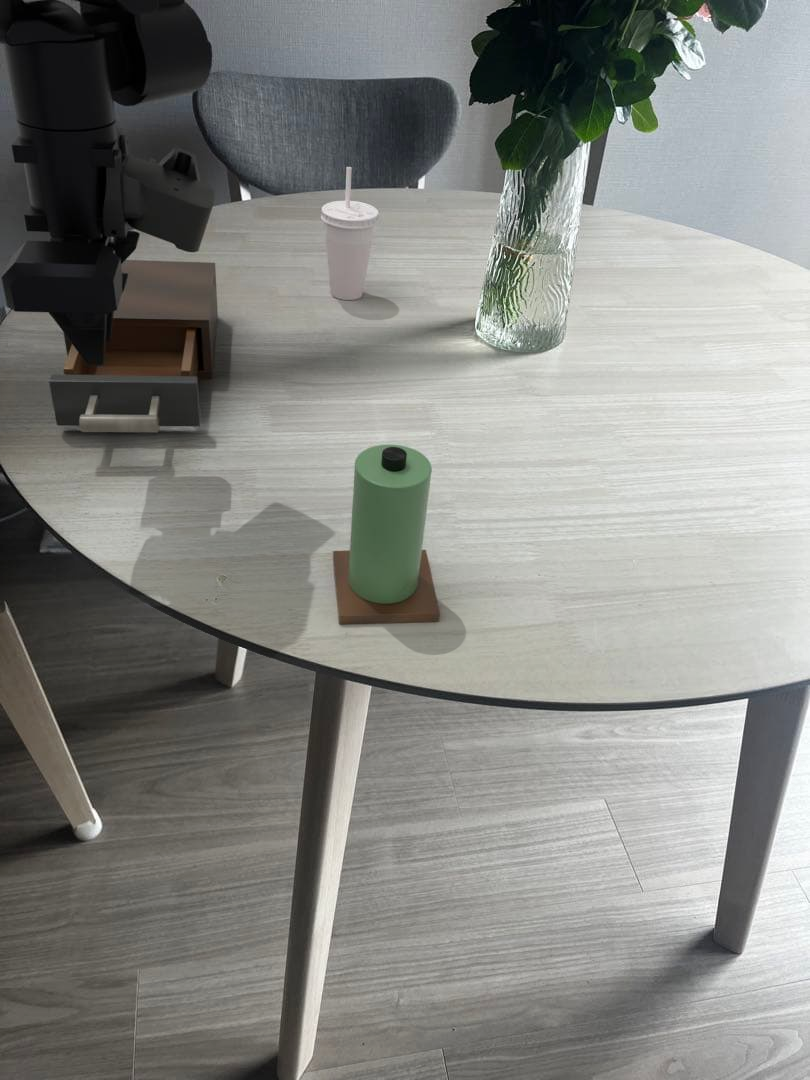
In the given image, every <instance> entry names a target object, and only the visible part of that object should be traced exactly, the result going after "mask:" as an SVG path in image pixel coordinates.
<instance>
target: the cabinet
mask: <svg viewBox="0 0 810 1080" xmlns="http://www.w3.org/2000/svg"><path fill="white" fill-rule="evenodd" d="M121 268H122V273H128V274H129V275H128V278H127V282H126V285H125V289H124V291H123V292H122V294H121V298H120V301H119V305H118V308H117V310H116V311H114V314H113V324H112V326H153V327H197V330H198V345H199V362H198V370H197V377H198V379H209V380H210V379H213V377H214V365H215V364H214V363H215V353H216V344H217V332H218V331H217V330H218V321H219V320H218V319H219V312H218V295H217V294H218V292H217V272H216V262H205V261H204V262H201V261H173V260H144V259H142V260H141V259H126V260H125V261H124V262H123V263H122V264H121ZM62 333H63V338H64V339H63V340H64V344H65V350H66V355H67V357H68V354H69V351H70V349H71V346H72V343H71V342H70V340H69V339H68V338H67V336H66V335H65V333H64V332H63V331H62ZM67 357H66V358H67Z"/></svg>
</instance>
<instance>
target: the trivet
mask: <svg viewBox="0 0 810 1080" xmlns="http://www.w3.org/2000/svg"><path fill="white" fill-rule="evenodd" d="M349 556H350V550H333V551H332V564H333V566H332V567H333V576H334V586H335V597H336V598H335V599H336V608H337V609H336V610H337V618H338V624H339V625H350V624H351V625H352V624H354V625H355V624H357V625H358V624H391V623H392V624H393V623H395V624H397V623H428V622H429V623H430V622H431V623H432V622H433V623H434V622H440V617H441V616H440V615H441V612H440V606H439V603H438V598H437V593H436V589H435V585H434V580H433V576H432V571H431V567H430V561H429V557H428V552H427V549H422V553H421V561H420V569H419V577H418V585H417V588H416V590H415V592H414V593H413V594H412V595H411V596H410V597H409V598H407V599H405V600H403V601H400V602H397V603H392V604H380V603H374V602H370V601H367V600H365V599H363V598H361V597H360V596H358V595H357V594H356V593H355V592H354V591H353V590H352V589H351V587H350V585H349V581H348V573H349Z"/></svg>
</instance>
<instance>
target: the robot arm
mask: <svg viewBox="0 0 810 1080" xmlns="http://www.w3.org/2000/svg"><path fill="white" fill-rule="evenodd" d="M72 1H74V2H78V3H79V10H80V12H78V11H77V10H76V9H74V8H73V7H72V6H71V5H69V4H68V3H66V2H64V1H61V0H30V1H24V0H0V44H1V45H3V51H4V57H5V64H6V69H7V75H8V80H9V86H10V90H11V99H12V104H13V110H14V115H15V122H16V126H17V133H18V136H17V137H16V138H15V139H14V140H13V142H12V144H11V150H12V155H13V161H14V163H16V164H23V167H24V172H25V179H26V185H27V190H28V195H29V201H30V204H29V206H28V207H27V209H26V211H25V213H24V214H23V217H24V222H25V223H24V224H25V227H26V232H37V233H38V232H40V233H42V232H43V233H48V235H49V236H48V237H47V240H26V241H25V242H24V243H23V244H22V245H21V246H20V247H19V248H18V250H17V251H16V252H15V253H14V254H13V255H12V257H11V259H10V260H9V262H8V264H7V266H6V268H5V269H4V271H3V272H2V275H1V282H2V287H3V292H4V298H5V303H6V307H7V308H8V309H10V310H12V311H14V312H16V313H17V312H18V313H19V312H20V313H47V314H49V315H50V317H51V318H52V320H54V322H55V323H56V324H57V326H58V327H59V328H60V330H61V331H62V333H63V332H64V333H65V335H66V336H67V338H68V339H69V340H70V342H71V343H72V344H73V346H74V347H75V349H76V350H77V351H78V353H79V354H80V355H81V357H82V358H83V359H84V361H85V362H86V364H87V365H90V366H102V365H103V364H104V358H105V345H106V342H109V341H110V339H111V333H112V324H113V314H114V311H116V310H117V308H118V305H119V301H120V298H121V294H122V292H123V291H124V289H125V285H126V282H127V278H128V275H129V274H128V273H122V268H121V264H122V263H123V262H124V261H125V260H128V258H129V257H130V256H131V255H132V254H133V253H134V252H135V250H136V249H137V246H138V243H139V239H140V235H141V233H144V234H147V235H149V236H152V237H154V238H157V239H160V240H163V241H165V242H167V243H170V244H173V245H174V247H175V248H176V249H178V250H181V251H183V252H187V253H197V252H199V251H200V248H201V244H202V241H203V238H204V235H205V232H206V228H207V226H208V223H209V220H210V217H211V213H212V210H213V207H214V199H215V190H214V188H213V187H211V186H210V183H211V182H210V181H209V180H207V179H203V181H201V178H200V177H201V176H200V170H199V165H198V160H197V155H196V154H195V153H192V152H190V151H187V150H185V149H182V148H180V147H176V146H175V147H174V148H173V149H172V150H170V152H169V153H168V154H167V155H165V156H164V157H163V158H162V160H160V161H159V162H158V163H157V159H154V158H152V157H150V158H149V161H147V160H145V159H142V158H138V157H136V156H134V155H131V154H130V148H129V139H128V135H127V134H123V128H122V127H117V119H116V110H115V109H116V108H115V103H116V104H118V105H119V106H124V107H133V106H134V107H135V106H139V105H143V104H148V103H152V102H157V101H162V100H166V99H171V98H174V97H179V96H184V95H188V94H193V93H195V92H197V91H199V90H201V89H202V88H203V86H204V85H205V84H206V83H207V81H208V80H209V77H210V75H211V71H212V67H213V48H212V47H213V46H212V43H211V42H210V41H209V38H208V35H207V31H206V28H205V27H204V25H203V22H202V19H201V18H200V17H199V16H198V14H197V12H196V11H195V10H194V9H193V8H192V6H191V5H190V4H189V3H187V2H186V1H185V0H72ZM128 226H129V227H130V228H132V229H134V230H136V231H134V230H128ZM140 232H141V233H140ZM64 333H63V334H64Z"/></svg>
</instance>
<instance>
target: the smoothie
mask: <svg viewBox="0 0 810 1080" xmlns="http://www.w3.org/2000/svg"><path fill="white" fill-rule="evenodd" d="M352 168H353V167H351V166H346V171H345V195H344V200H335V201H329V202H327V203H325V204H323V205H322V207H321V215H320V218H321V220H322V221H323V225H324V236H325V244H326V256H327V267H328V277H329V288H330V289H329V290H330V295H331V296H332V297H333V298H336V299H339V300H341V301H342V300H344V301H354V300H359V299H360V298H361V297H362V296H363V293H364V288H365V283H366V282H365V281H366V276H367V272H368V265H369V260H370V255H371V251H372V250H371V249H372V244H373V239H374V234H375V229H376V228H375V227H376V225H378V223H379V222H380V221H379V213H380V212H379V210H378V209H377V208H376V207H374V206H373V205H371V204H369V203H365V202H361V201H356V200H351V190H352V171H353V170H352Z"/></svg>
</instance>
